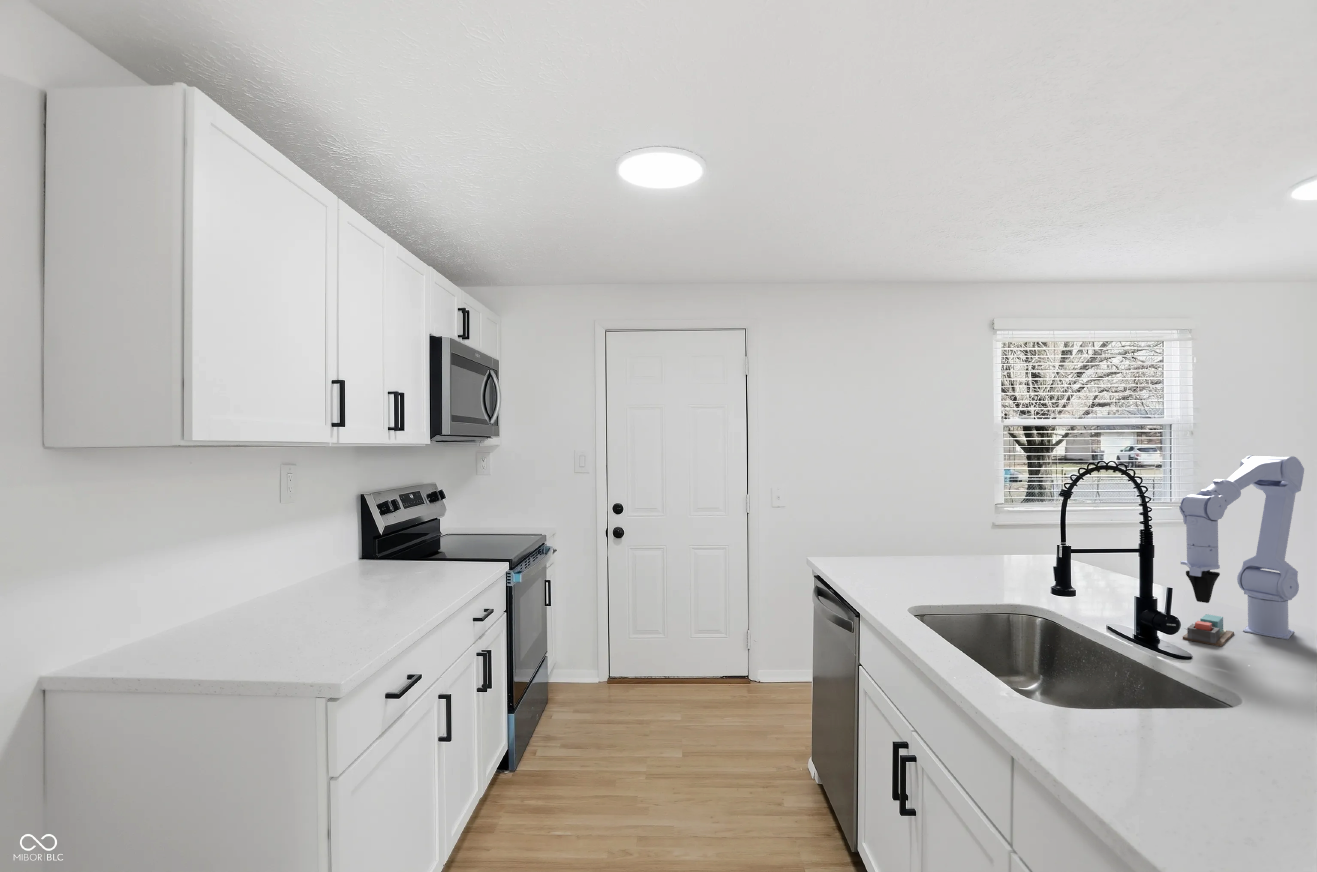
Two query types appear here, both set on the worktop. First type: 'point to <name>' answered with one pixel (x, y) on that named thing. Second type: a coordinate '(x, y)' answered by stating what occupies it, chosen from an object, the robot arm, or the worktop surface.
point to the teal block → (1213, 621)
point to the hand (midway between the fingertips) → (1203, 601)
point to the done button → (1203, 625)
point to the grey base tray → (1208, 635)
